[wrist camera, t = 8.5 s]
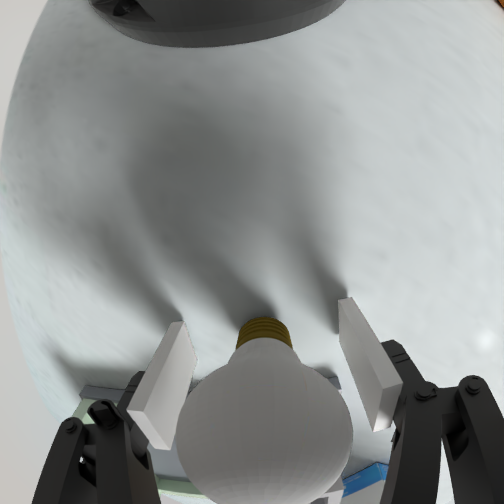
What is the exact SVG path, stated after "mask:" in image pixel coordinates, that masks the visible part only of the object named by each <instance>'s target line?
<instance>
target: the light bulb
mask: <svg viewBox="0 0 504 504" xmlns="http://www.w3.org/2000/svg"><path fill="white" fill-rule="evenodd" d="M175 439H176V448H177V454H178V457H179V461H180V463H181V466H182V468H183V470H184V471H185V473H186V475H187V477H188V478H189V480H190V481H191V482H192V483H193V485H194V486H195V487H196V488H197V489H198V490H199V491H200V492H201V493H202V494H204V495H205V496H206V497H207V498H209V499H210V500H212V501H213V502H215V503H217V504H309V503H311V502H313V501H314V500H316V499H317V498H319V497H320V496H321V495H323V494H324V493H325V492H326V491H327V490H328V489H329V488H330V487H331V486H332V485H333V484H334V483H335V482H336V481H337V479H338V478H339V476H340V475H341V473H342V472H343V470H344V468H345V466H346V464H347V462H348V459H349V456H350V452H351V447H352V441H353V428H352V422H351V417H350V413H349V410H348V407H347V405H346V403H345V401H344V400H343V398H342V396H341V394H340V393H339V391H338V390H337V389H336V388H335V387H334V386H333V384H332V383H331V382H330V381H329V380H328V379H327V378H325V377H324V376H322V375H321V374H320V373H318V372H317V371H316V370H314V369H312V368H310V367H308V366H306V365H304V364H302V363H301V361H300V360H299V358H298V356H297V354H296V353H295V352H294V350H293V348H292V343H291V339H290V335H289V331H288V329H287V327H286V326H285V325H284V324H283V323H282V322H280V321H279V320H277V319H274V318H270V317H259V318H255V319H252V320H250V321H248V322H247V323H246V324H244V325H243V327H242V328H241V330H240V332H239V336H238V340H237V345H236V350H235V352H234V353H233V355H232V356H231V358H230V360H229V362H228V364H226V365H224V366H223V367H221V368H219V369H217V370H215V371H213V372H212V373H211V374H209V375H208V376H207V377H205V378H204V379H203V380H202V381H201V382H200V383H199V384H198V385H197V386H196V387H195V388H194V389H193V390H192V391H191V393H190V394H189V396H188V397H187V399H186V401H185V402H184V404H183V406H182V408H181V410H180V413H179V417H178V421H177V426H176V435H175Z"/></svg>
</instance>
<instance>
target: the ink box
mask: <svg viewBox="0 0 504 504" xmlns="http://www.w3.org/2000/svg"><path fill="white" fill-rule="evenodd" d="M388 467H389V465H384V464H380V463H375V464H373V465H372V466H370V467H368V468H366V469H364V470H362V471H360V472H358V473H356V474H354V475H352V476H350V477H348V478H346V479H344V480H342V482H343V487H344V491H343V495H342V498H341V501H340V504H380V500H381V496H382V493H383V489H384V485H385V480H386V476H387V471H388Z"/></svg>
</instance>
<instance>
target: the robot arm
mask: <svg viewBox="0 0 504 504" xmlns="http://www.w3.org/2000/svg"><path fill="white" fill-rule="evenodd" d="M88 1H89V3H90V4H91V6H92V7H93V8H94V10H95V11H96V12H97V13H98V14H99V15H100V16H101V17H102V18H104V19H105V20H106V21H107V22H109V23H110V24H111V25H112V26H114V27H115V28H116V29H117V30H119V31H120V32H122V33H123V34H125V35H127V36H129V37H131V38H133V39H136V40H139V41H142V42H145V43H150V44H154V45H161V46H169V47H183V48H200V47H218V46H228V45H236V44H243V43H249V42H255V41H259V40H264V39H269V38H273V37H277V36H280V35H284V34H287V33H290V32H293V31H296V30H299V29H301V28H304V27H306V26H309V25H311V24H313V23H315V22H317V21H319V20H321V19H323V18H325V17H326V16H328V15H329V14H331V13H332V12H334V11H335V10H336V9H337V8H339V7H340V6H341V5H342V4H343V3H344V2H345V0H88ZM338 310H339V342H340V345H341V347H342V350H343V352H344V355H345V357H346V360H347V363H348V365H349V368H350V370H351V373H352V376H353V378H354V381H355V384H356V386H357V389H358V392H359V394H360V397H361V400H362V403H363V405H364V408H365V411H366V414H367V417H368V419H369V422H370V425H371V428H372V431H373V432H376V431H379V430H383V429H386V428H389V427H391V424H392V421H394V423H395V425H396V429H395V432H394V435H393V438H392V440H391V442H393V445H392V451H391V456H390V461H389V467H388V471H387V476H386V480H385V485H384V489H383V493H382V496H381V500H380V504H436V499H437V492H438V484H439V474H440V462H441V438H442V441H443V445H444V449H445V454H446V458H447V462H448V467H449V472H450V477H451V482H452V488H453V494H454V500H455V504H504V418H503V416H502V413H501V411H500V409H499V407H498V405H497V403H496V401H495V399H494V397H493V395H492V393H491V391H490V389H489V387H488V385H487V383H486V382H485V380H484V379H483V378H481V377H479V376H475V375H471V376H466V377H465V378H463V379H462V380H461V381H460V383H459V385H458V386H457V387H449V388H438V387H437V386H436V385H435V384H433V383H431V382H427V381H425V380H424V378H423V377H422V375H421V374H420V372H419V371H418V369H417V367H416V366H415V364H414V363H413V361H412V360H410V357H409V355H408V354H407V353H406V351H405V349H404V348H403V346H402V345H401V344H399V343H398V342H396V341H395V340H389V341H386V342H382V343H380V342H379V340H378V338H377V337H376V335H375V333H374V332H373V330H372V328H371V327H370V325H369V324H368V322H367V320H366V319H365V317H364V315H363V314H362V312H361V311H360V309H359V307H358V306H357V304H356V303H355V301H354V300H353V298H352V297H350V298H345V299H339V300H338ZM197 360H198V359H197V356H196V354H195V351H194V348H193V345H192V342H191V339H190V337H189V334H188V331H187V328H186V325H185V322H184V321H179V322H171V324H170V326H169V328H168V330H167V332H166V334H165V335H164V337H163V339H162V341H161V343H160V345H159V347H158V349H157V351H156V352H155V354H154V356H153V358H152V360H151V362H150V364H149V366H148V368H147V370H146V371H139V372H138V373H137V374H135V375H134V376H133V377H132V378H131V380H130V382H129V384H128V387H127V388H126V389H125V392H124V393H123V395H122V397H121V399H120V401H119V402H118V404H117V406H115V404H114V403H113V402H112V401H111V400H108V399H100V400H97V401H95V402H94V403H92V404H91V405H90V406H89V408H88V410H87V413H88V415H89V416H90V417H91V419H92V420H93V421H94V423H93V424H84V423H83V422H82V421H81V420H80V419H79V418H77V417H70V418H68V419H66V420H64V421H63V422H62V423H61V425H60V427H59V429H58V432H57V434H56V436H55V439H54V441H53V444H52V446H51V449H50V451H49V454H48V456H47V459H46V462H45V464H44V467H43V470H42V473H41V476H40V479H39V482H38V485H37V488H36V491H35V494H34V497H33V501H32V504H161V501H160V497H159V493H158V488H157V484H156V480H155V475H154V470H153V465H152V460H151V454H150V452H149V450H148V449H147V446H148V444H149V442H150V443H151V445H152V446H153V447H154V448H155V449H162V450H171V446H172V443H173V440H174V436H175V433H176V426H177V421H178V417H179V413H180V410H181V408H182V406H183V404H184V402H185V399H186V396H187V393H188V389H189V386H190V383H191V379H192V376H193V373H194V370H195V367H196V363H197ZM81 457H82V458H83V461H82V463H81V462H80V458H81Z"/></svg>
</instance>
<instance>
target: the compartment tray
mask: <svg viewBox="0 0 504 504" xmlns="http://www.w3.org/2000/svg"><path fill="white" fill-rule="evenodd" d="M327 379H328V380H329V381H330V382H331V383H332V384H333V386H334V387H335V388H336V389H337V390H338V391H339V393H340V394H341V390H342V389H341V386H340V383H339V380H338V376H337V377H332V378H327ZM124 392H125V390H119V389H109V388H100V387H92V386H85V387H84V388H83V390H82V391H81V393H80V394H79V396H80V397H81V398H82V401H81V403H80V404H79V406H78V407H77V409H76V410H75V412H74V413H73V415H72V417H77V418H79V419H80V420H81V421H82V422H83V423H84V424H93V423H94V421H93V420H92V419H91V417H90V416H89V415H88V413H87V410H88V408H89V406H90V405H91V404H92V403H94V402H95V401H97V400H100V399H108V400H111V401H112V402H113V403H114V404H115V406H117V404H118V402H119V401H120V399H121V397H122V395H123V393H124ZM190 393H191V392H188V393H187V396H186V399H187V397H188V396H189V394H190ZM186 399H185V401H186ZM175 435H176V433H175ZM147 449H148V450H149V452H150V454H151V460H152V465H153V470H154V475H155V480H156V484H157V488H158V493H159V497H160V496H161V493H164V494H170V495H177V496H184V497H193V498H204V499H209V498H207V497H206V496H205V495H204V494H202V493H201V492H200V491H199V490H198V489H197V488H196V487H195V486H194V485H193V483H192V482H191V481H190V480H189V478H188V477H187V475H186V473H185V471H184V470H183V468H182V466H181V463H180V461H179V457H178V454H177V448H176V439H175V436H174V440H173V443H172V446H171V450H162V449H155V448H154V447H153V446H152V445H151V443H150V442H149V444H148V446H147ZM343 491H344V487H343V482H342V476H341V475H340V476H339V478H338V479H337V481H336V482H335V483H334V484H333V485H332V486H331V487H330V488H329V489H328V490H327V491H326V492H325V493H324V494H323V495H321V496H320V497H319V498H317V499H316V500H314V501H313V502H311V503H309V504H340V501H341V498H342V495H343Z"/></svg>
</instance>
